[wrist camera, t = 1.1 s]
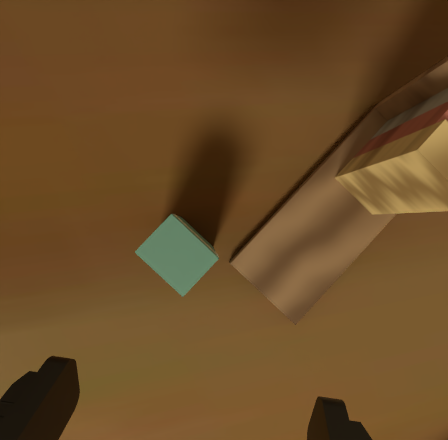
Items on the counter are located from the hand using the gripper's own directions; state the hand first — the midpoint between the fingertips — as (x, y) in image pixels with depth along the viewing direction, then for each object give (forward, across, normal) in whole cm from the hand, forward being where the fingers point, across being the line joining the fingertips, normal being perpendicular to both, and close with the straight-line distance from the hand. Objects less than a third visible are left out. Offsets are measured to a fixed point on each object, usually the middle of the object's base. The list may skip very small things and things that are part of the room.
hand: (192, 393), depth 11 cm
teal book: (+25, +5, +8) cm, 26 cm away
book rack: (+28, -11, +4) cm, 31 cm away
